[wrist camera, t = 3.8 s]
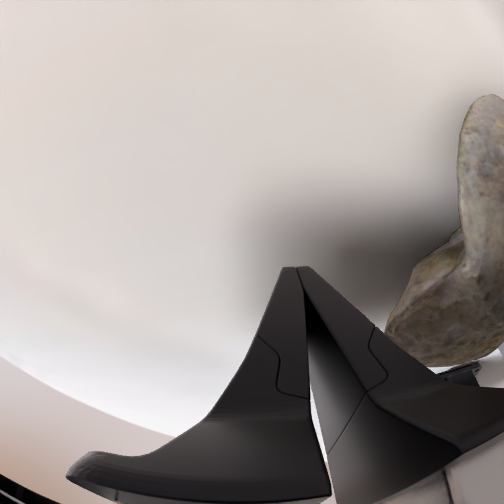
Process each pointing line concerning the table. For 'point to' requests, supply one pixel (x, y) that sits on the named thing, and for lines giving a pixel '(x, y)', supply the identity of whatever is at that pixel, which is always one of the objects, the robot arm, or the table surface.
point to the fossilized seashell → (462, 258)
